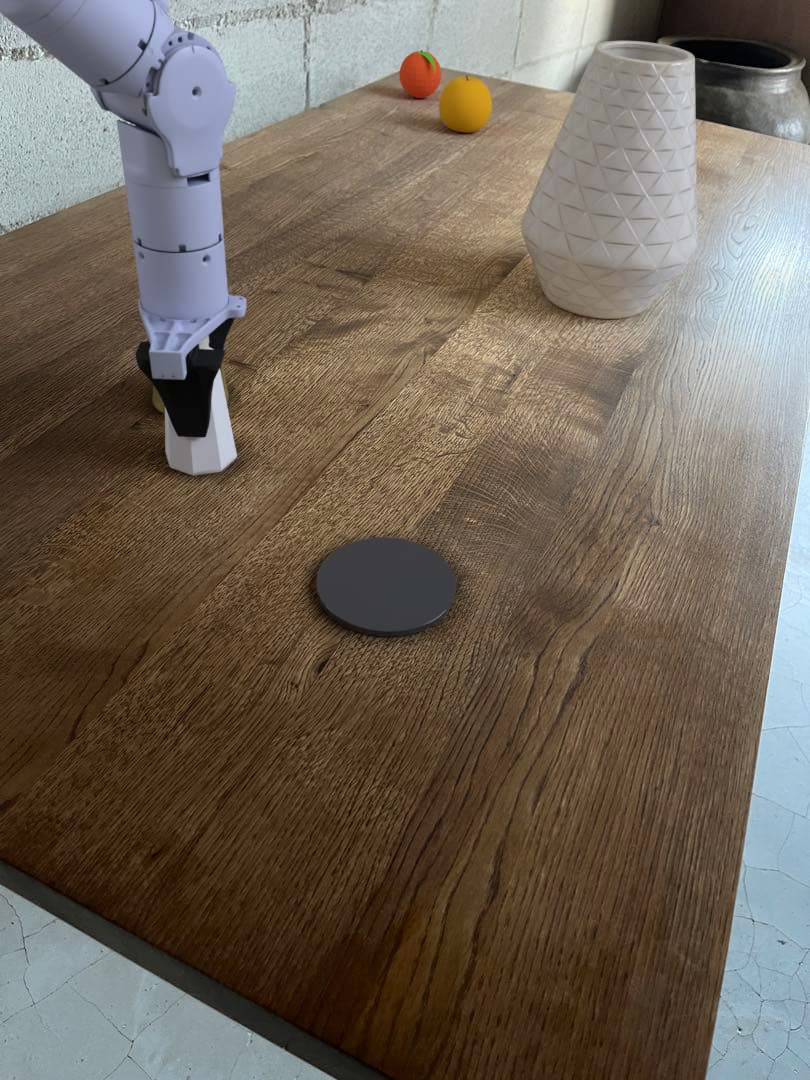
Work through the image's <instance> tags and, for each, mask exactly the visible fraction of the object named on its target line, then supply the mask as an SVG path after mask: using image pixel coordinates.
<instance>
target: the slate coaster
mask: <svg viewBox="0 0 810 1080" xmlns="http://www.w3.org/2000/svg"><path fill="white" fill-rule="evenodd" d="M315 590H316V596H317V599H318V601H319V604H320V605H321V607H322V608H323V610H324V611H325V612H326V613H327V614H328V616H330V617H331V618H332V619H333V620H334V621H336V622H337V623H339V624H340V625H341V626H343V627H346V628H347V629H349V630H352V631H355V632H358V633H361V634H365V635H369V636H375V637H385V638H386V637H387V638H388V637H389V638H390V637H391V638H393V637H402V636H410V635H413V634H418V633H420V632H423V631H425V630H427V629H429V628H432V627H433V626H435V625H436V624H438V623H439V622H440V621H442V620H443V619H444V618H445V617H446V616H447V615H448V613H450V610H451V609H452V607H453V605H454V603H455V599H456V594H457V580H456V577H455V575H454V572H453V570H452V568H451V567H450V565H449V563H448V562H447V561H446V560H445V559H443V558H442V556H440V555H439V554H438V553H437V552H435V551H434V550H432V549H431V548H428V547H427V546H426V545H423V544H421V543H417V542H414V541H411V540H407V539H404V538H398V537H388V536H385V537H383V536H382V537H368V538H362V539H359V540H355V541H351V542H349V543H347V544H344V545H342V546H340V547H338V548H337V549H335V550H333V551H332V553H330V554H329V555H328V556H327V557H326V558H325V559H324V561H322V563H321V564H320V567H319V568H318V571H317V574H316V579H315Z"/></svg>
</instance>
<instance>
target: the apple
mask: <svg viewBox="0 0 810 1080" xmlns="http://www.w3.org/2000/svg"><path fill="white" fill-rule="evenodd" d="M491 95H492V94H491V92H490V90H489V88H488V86H487V85H486V84H485V83H484V81H482V80H481V79H479V78H477V77H473V76H468V75H465V76H457V77H455V78H453V79H452V80H450V81H449V82H447V84H446V85H445V87H444V88H443V90H442V91H441V94H440V97H439V103H438V112H439V117H440V119H441V121H442V123H443V124H444V126H446V128H448V129H449V130H451V131H454V132H457V133H467V134H469V133H475V132H478V131H479V130H482V129H483V128H484V127H485V126H486V125H487V123H488V122H489V119H490V117H491V114H492V111H493V110H492V109H493V104H492V103H493V101H492V96H491Z"/></svg>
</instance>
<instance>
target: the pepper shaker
mask: <svg viewBox="0 0 810 1080" xmlns="http://www.w3.org/2000/svg"><path fill="white" fill-rule="evenodd" d="M208 344H209V335H208V336H207V337H206V338H204V339H203V340H202V341H201V342H200V343H199V349H212V348H209V345H208ZM212 350H214V349H212ZM164 441H165V442H164V447H165V448H164V450H165V454H166V455H165V456H166V459H167V463H168V466H169V468H170V469H172V470H174V471H177V472H181V473H183V474H187V475H190V476H193V477H197V476H203V475H209V474H215V473H222V471H223V470H225V469H226V468H227V467H228V466H230V464H231V463H233V462H234V461H235V460H236V459H237V458H238V453H237V449H236V444H235V439H234V433H233V429H232V423H231V418H230V414H229V408H228V402H226V397H225V392H224V387H223V382H222V377H221V372H220V369H219V371H218V373H217V375H216V377H215V379H214V383H213V390H212V400H211V414H210V422H209V427H208V431H207V435H206V437H204V438H203V437H179V436H177V434H176V432H175V430H174V428H173V425H172V423H171V420H170V418H169V415H168V413H167V410H166V408H165V414H164Z"/></svg>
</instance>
